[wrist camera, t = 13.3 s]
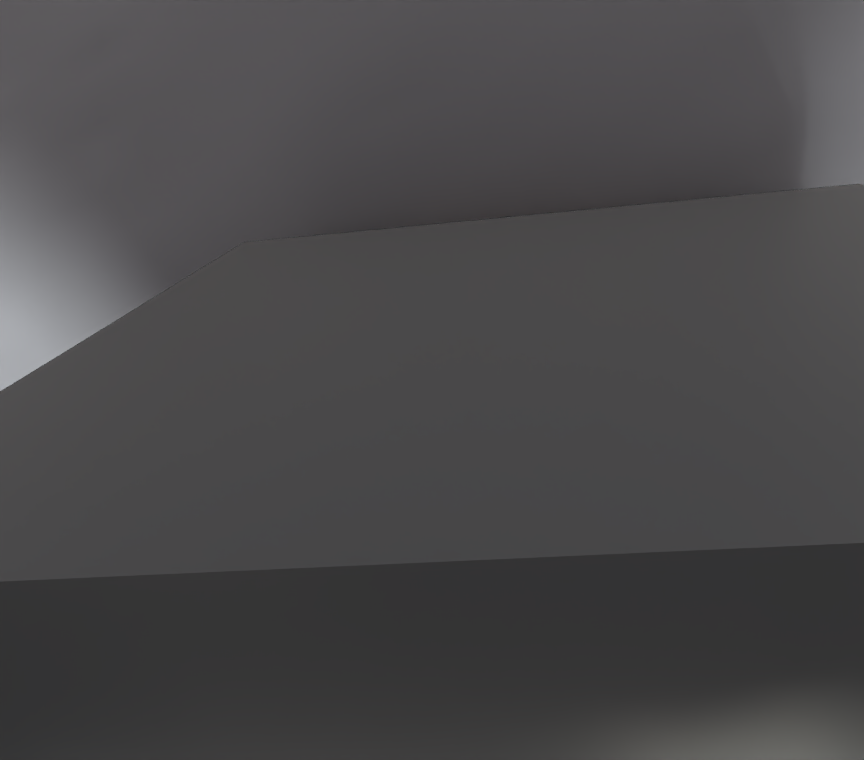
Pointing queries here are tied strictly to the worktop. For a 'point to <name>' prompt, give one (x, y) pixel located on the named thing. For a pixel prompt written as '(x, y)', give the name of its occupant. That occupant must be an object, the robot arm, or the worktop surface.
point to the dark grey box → (455, 498)
